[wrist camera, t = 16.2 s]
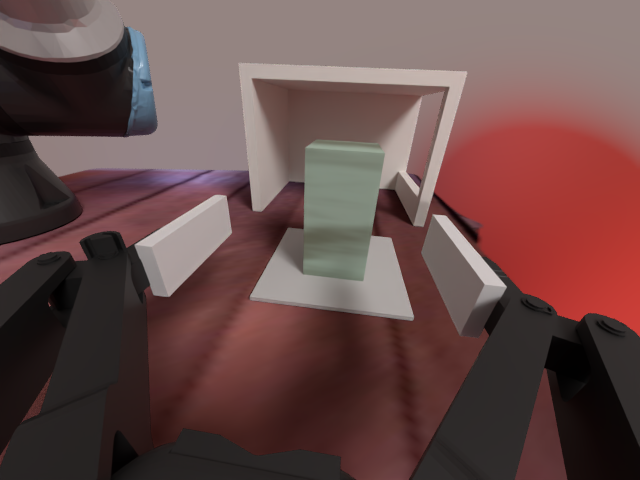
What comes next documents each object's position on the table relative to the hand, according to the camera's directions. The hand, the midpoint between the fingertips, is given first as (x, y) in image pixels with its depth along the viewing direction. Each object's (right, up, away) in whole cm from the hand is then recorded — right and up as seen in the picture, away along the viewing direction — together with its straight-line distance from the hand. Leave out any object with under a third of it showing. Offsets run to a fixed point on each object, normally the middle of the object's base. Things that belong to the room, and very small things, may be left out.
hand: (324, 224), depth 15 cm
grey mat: (+1, -4, +11) cm, 12 cm away
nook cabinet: (+3, +7, +31) cm, 32 cm away
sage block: (+1, -3, +11) cm, 11 cm away
